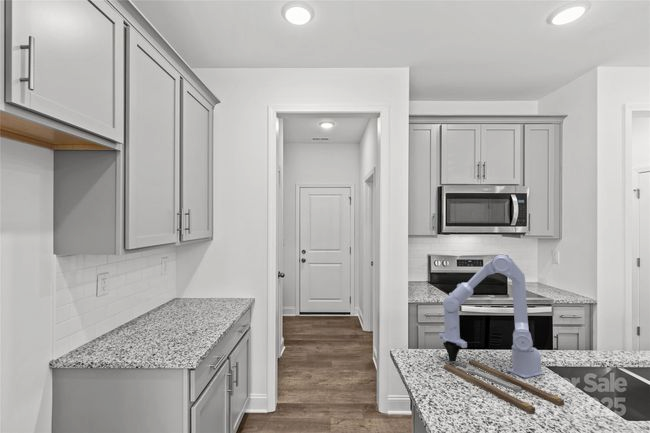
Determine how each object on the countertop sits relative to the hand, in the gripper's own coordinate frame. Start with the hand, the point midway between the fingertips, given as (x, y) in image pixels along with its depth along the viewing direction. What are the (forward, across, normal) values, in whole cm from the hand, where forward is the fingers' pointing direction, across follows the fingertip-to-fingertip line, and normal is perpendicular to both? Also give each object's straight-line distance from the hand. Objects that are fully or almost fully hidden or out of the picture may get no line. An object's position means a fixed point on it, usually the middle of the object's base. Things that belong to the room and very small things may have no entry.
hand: (452, 360), depth 149 cm
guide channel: (+1, +22, 0) cm, 22 cm away
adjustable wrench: (+2, +17, 0) cm, 17 cm away
